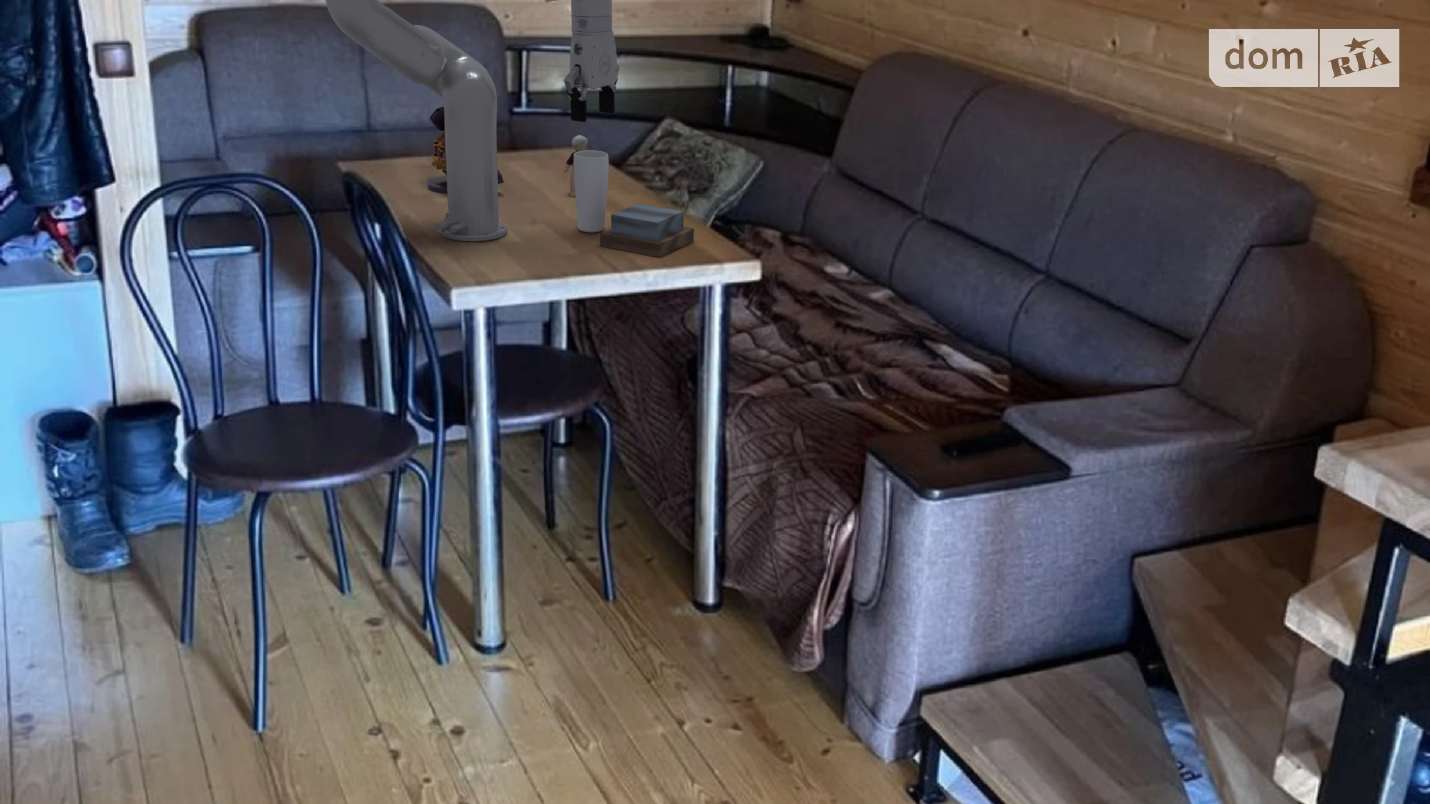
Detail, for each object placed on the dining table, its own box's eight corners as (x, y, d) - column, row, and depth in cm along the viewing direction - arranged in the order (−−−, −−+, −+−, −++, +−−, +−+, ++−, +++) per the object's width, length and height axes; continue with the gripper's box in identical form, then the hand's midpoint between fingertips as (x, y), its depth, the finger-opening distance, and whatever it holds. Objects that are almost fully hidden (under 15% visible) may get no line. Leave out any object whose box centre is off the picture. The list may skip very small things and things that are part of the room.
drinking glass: (590, 223, 286) (590, 148, 280) (615, 229, 282) (616, 154, 276) (566, 229, 281) (565, 153, 275) (591, 236, 277) (591, 159, 271)
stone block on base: (659, 257, 266) (660, 225, 263) (600, 245, 271) (600, 215, 269) (693, 241, 276) (694, 210, 274) (635, 230, 282) (636, 200, 280)
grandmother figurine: (574, 199, 303) (574, 139, 298) (561, 195, 305) (560, 136, 300) (598, 192, 308) (599, 133, 304) (585, 189, 311) (585, 131, 306)
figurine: (506, 195, 303) (504, 117, 297) (442, 201, 298) (438, 121, 291) (478, 174, 320) (475, 99, 314) (417, 179, 314) (413, 102, 308)
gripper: (583, 31, 258) (584, 126, 264) (633, 20, 272) (633, 111, 278) (548, 28, 261) (550, 122, 268) (599, 17, 275) (600, 107, 282)
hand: (593, 116), depth 273 cm, fingers open, 9 cm apart
